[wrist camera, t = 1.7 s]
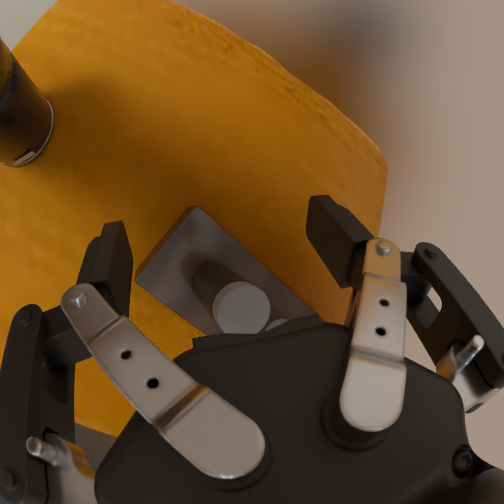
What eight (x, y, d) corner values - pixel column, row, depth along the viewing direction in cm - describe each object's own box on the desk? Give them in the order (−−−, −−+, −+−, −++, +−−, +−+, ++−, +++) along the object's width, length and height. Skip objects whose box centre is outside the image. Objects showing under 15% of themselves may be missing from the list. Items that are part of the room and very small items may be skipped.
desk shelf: (135, 271, 32) (134, 281, 27) (189, 206, 33) (197, 204, 29) (271, 368, 40) (286, 385, 36) (313, 317, 42) (332, 328, 37)
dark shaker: (183, 285, 29) (203, 319, 20) (210, 253, 30) (242, 271, 20) (214, 309, 31) (246, 349, 21) (239, 278, 31) (282, 306, 22)
